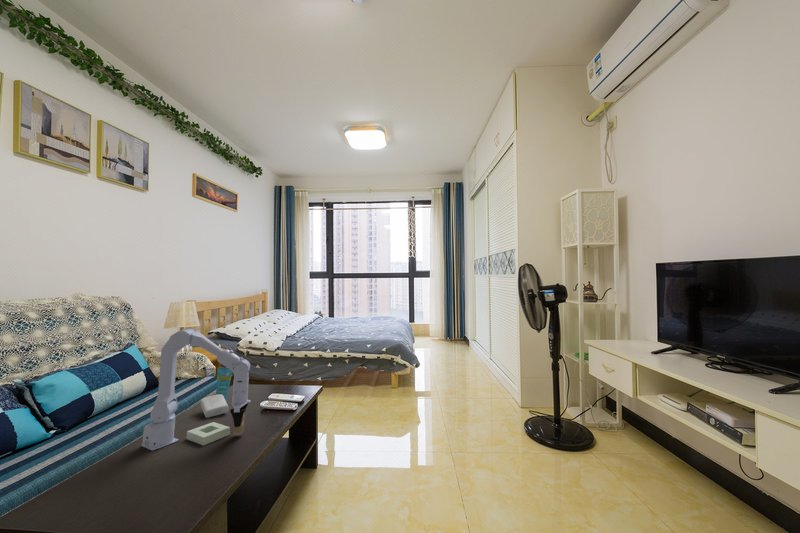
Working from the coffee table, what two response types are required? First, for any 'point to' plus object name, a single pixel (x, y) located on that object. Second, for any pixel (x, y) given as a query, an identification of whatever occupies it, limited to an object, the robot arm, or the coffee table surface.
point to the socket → (208, 433)
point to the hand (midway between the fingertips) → (238, 424)
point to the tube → (223, 381)
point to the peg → (238, 428)
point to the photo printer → (214, 405)
